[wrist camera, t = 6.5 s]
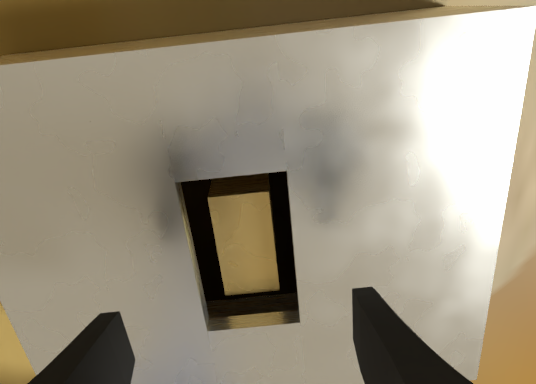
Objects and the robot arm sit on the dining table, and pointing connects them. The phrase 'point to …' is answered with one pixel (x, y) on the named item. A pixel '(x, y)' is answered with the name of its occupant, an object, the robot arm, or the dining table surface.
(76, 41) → the dining table surface
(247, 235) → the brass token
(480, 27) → the cash box
